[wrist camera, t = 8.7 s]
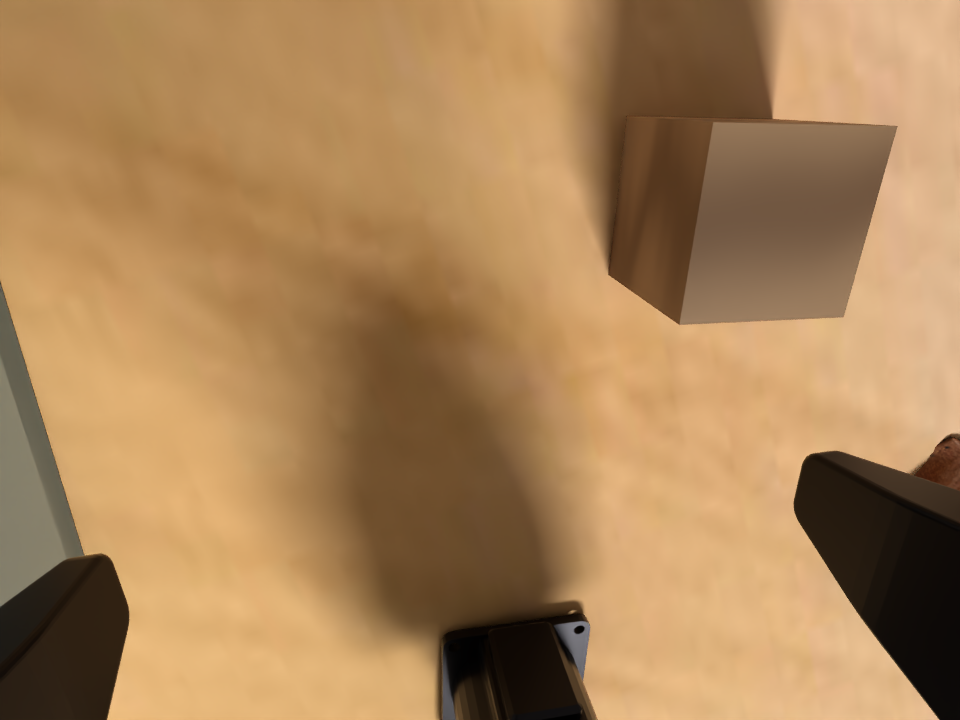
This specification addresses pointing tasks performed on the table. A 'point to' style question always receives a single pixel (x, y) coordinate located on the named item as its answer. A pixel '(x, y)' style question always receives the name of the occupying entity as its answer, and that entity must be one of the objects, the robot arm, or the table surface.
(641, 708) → the table surface
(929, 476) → the sunglasses case
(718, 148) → the walnut cube
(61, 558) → the tote
